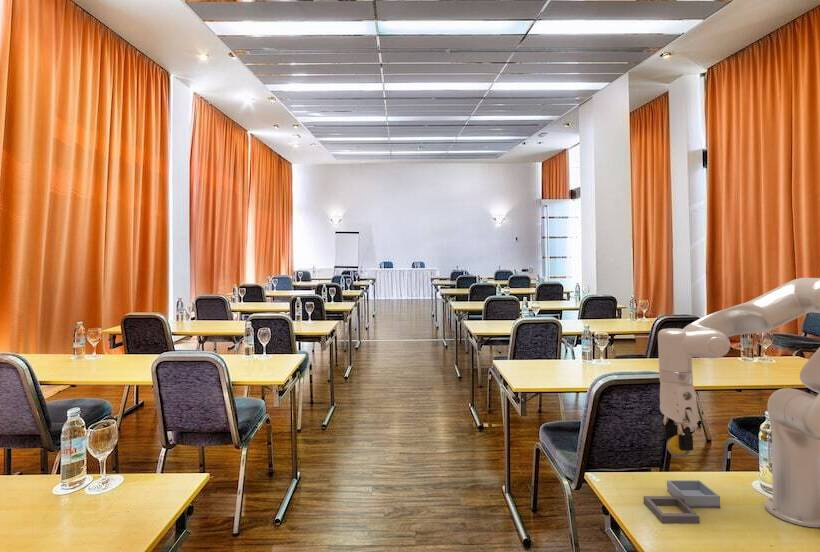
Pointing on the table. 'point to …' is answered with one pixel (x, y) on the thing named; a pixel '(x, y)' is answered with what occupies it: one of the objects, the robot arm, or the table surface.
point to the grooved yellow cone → (675, 447)
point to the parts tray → (694, 493)
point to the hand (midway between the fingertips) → (678, 444)
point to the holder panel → (685, 517)
